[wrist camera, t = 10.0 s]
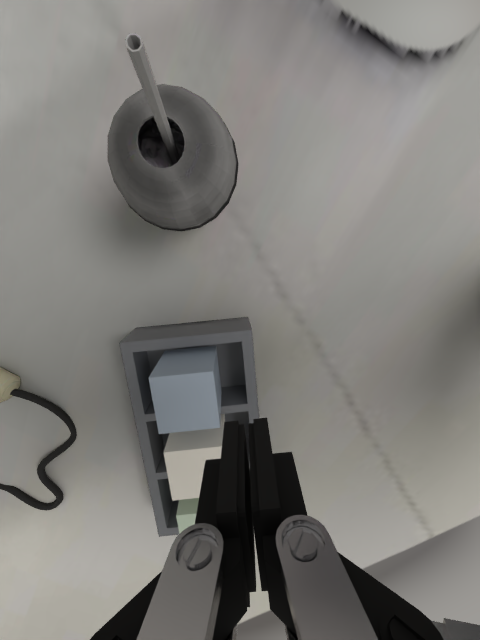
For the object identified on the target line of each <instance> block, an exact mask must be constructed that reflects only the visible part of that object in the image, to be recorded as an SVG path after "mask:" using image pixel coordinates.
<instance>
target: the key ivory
mask: <svg viewBox="0 0 480 640" xmlns="http://www.w3.org/2000/svg"><path fill="white" fill-rule="evenodd" d="M224 422H225V415H224V414H221V419H220V428H213V429H203V430H194V431H184V432H175V433H169V436H168V440H167V443H166V446H165V449H164V452H163V453H164V458H165V464H166V469H167V475H168V480H169V485H170V491H171V496H172V501H174V500H183V499H192V498H199V495H200V489H201V483H202V477H203V471H204V465H205V461H206V460H210V459H221V451H222V440H223V430H224Z"/></svg>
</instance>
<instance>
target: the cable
mask: <svg viewBox="0 0 480 640" xmlns="http://www.w3.org/2000/svg"><path fill="white" fill-rule="evenodd" d="M19 387H20V377H18V376H16V375H14V374H12V373H10V372H9V371H7V370H5V369H3V368H1V367H0V403H1V402H3V401H6V400H8V399H10V398H11V397H12V396H16V397H20V398H23V399H26V400H29V401H32V402H34V403H37V404H39V405H41V406H43V407H45V408H47V409H49V410H50V411H52V412H53V413H55V414H56V415H57V416H58V417H60V418H61V419H62V420H63V421H64V422H65V423H66V425H67V426H68V428H69V429H70V432H71V436H70V437H69V439H68V440H67V441H66V442H65V443H64V444H63V445H61V446H60V447H59V448H57V449H56V450H55V451H53V452H52V453H51V454H49V455H48V456H47V457H45V458H44V459H43V460H42V461H41V462H40V464H39V465H38V468H37V473H38V476H39V479H40V480H41V482H42V483H43V484H44V485H45V486H46V487H47V488H48V489H49V490H50V491H51V492H52V493H53V494H54V495H55V496H56V500H55V501H54V502H52V503H48V504H47V503H43V502H40V501H37V500H35V499H34V498H32V497H30V496H28V495H27V494H25V493H24V492H22V491H21V490H19V489H18V488H16V487H14V486H9V485H3V484H0V489H2V490H5V491H8V492H9V493H11V494H13V495H14V496H16V497H17V498H18V499H20V500H22V501H23V502H25V503H26V504H28V505H30V506H32V507H34V508H37V509H40V510H51V509H54V508H56V507H57V506H58V505H59V504H60V503H61V502H62V500H63V493H62V491H61V490H60V489H59V488H58V487H57V486H56V485H55V484H54V483H53V482H52V481H51V480H50V479H49V478H48V476H47V475H46V473H45V466H46V465H47V464H48V463H49V462H50V461H51V460H53V459H54V458H55V457H57V456H58V455H60V454H61V453H62V452H64V451H65V450H66V449H67V448H68V447H70V446H71V445H72V444H73V442H74V441H75V439H76V436H77V433H76V428H75V425H74V423H73V421H72V420H71V418H70V417H69V416H68V415H67V414H66V413H65V412H64V411H63V410H62V409H60V408H59V407H58V406H56V405H55V404H53V403H51V402H49V401H48V400H46V399H44V398H41V397H39V396H37V395H34V394H31V393H28V392H26V391H22V390H18V389H19Z"/></svg>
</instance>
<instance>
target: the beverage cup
mask: <svg viewBox="0 0 480 640" xmlns="http://www.w3.org/2000/svg"><path fill="white" fill-rule="evenodd" d="M125 42H126V47H127V50H128V52H129V55H130V57H131V60H132V63H133V65H134V68H135V70H136V73H137V75H138V78H139V80H140V83H141V86H142V88H143V89H141V90H140V91H138V92H136V93H135V94H133V95H132V96H130V97H129V98H127V99H126V100H125V102H124V103H123V104H122V106H121V107H120V108H119V110H118V111H117V112H116V114H115V115H114V117H113V121H112V124H111V127H110V130H109V134H108V163H109V166H110V170H111V173H112V176H113V180H114V182H115V184H116V186H117V187H118V189H119V190H120V192H121V194H122V195H123V197H124V198H125V200H126V202H127V203H128V205H129V206H130V208H131V209H133V210H134V211H135V212H136V213H137V214H138V215H139V216H140V217H142V218H143V219H144V220H145V221H147V222H149V223H151V224H153V225H155V226H158V227H160V228H162V229H167V230H175V231H186V230H190V229H195V228H200V227H202V226H203V225H205V224H207V223H208V222H210V221H212V220H213V219H215V218H216V217H217V216H218V215H219V214H220V213H221V211H222V210H223V209H224V208H225V207H226V206H227V204H228V203H229V201H230V198H231V196H232V194H233V191H234V189H235V186H236V182H237V172H238V159H237V154H236V148H235V143H234V141H233V139H232V137H231V135H230V133H229V131H228V129H227V127H226V125H225V123H224V122H223V120H222V118H221V117H220V115H219V114H218V113H217V112H216V111H215V110H214V109H213V108H212V107H211V106H210V105H209V103H208V102H207V101H206V100H205V99H204V98H202V97H200V96H198V95H196V94H194V93H192V92H191V91H189V90H187V89H185V88H183V87H178V86H171V85H164V84H161V85H156V82H155V79H154V75H153V72H152V69H151V66H150V63H149V60H148V57H147V54H146V50H145V47H144V44H143V41H142V38H141V37H140V36H139V35H137V34H136V33H131V34H128V36H127V37H126V39H125Z"/></svg>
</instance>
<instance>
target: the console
mask: <svg viewBox="0 0 480 640" xmlns="http://www.w3.org/2000/svg"><path fill="white" fill-rule="evenodd" d="M119 344H120V349H121V354H122V359H123V364H124V369H125V373H126V378H127V383H128V388H129V393H130V398H131V403H132V408H133V412H134V417H135V422H136V427H137V432H138V437H139V442H140V447H141V451H142V456H143V461H144V466H145V471H146V476H147V481H148V486H149V490H150V495H151V500H152V505H153V510H154V515H155V520H156V525H157V529H158V534H159V537H160V536H169V535H178V534H179V529H178V523H177V518H176V514H177V508H178V503H179V500H174V501H172V496H171V491H170V485H169V480H168V475H167V469H166V464H165V458H164V453H163V452H164V449H165V446H166V443H167V440H168V436H169V433H165V434H159V432H158V427H157V421H156V416H155V410H154V405H153V400H152V394H151V389H150V383H149V376H150V375H151V373H152V371H153V370H154V368H155V366H156V365H157V363H158V361H159V360H160V358H161V356H162V355H163V353H164V351H167V350H177V349H187V348H197V347H207V346H216V348H217V357H218V365H219V374H220V382H221V391H222V394H221V414H224V415H225V422H228V421H238V422H239V424H244V427H245V435H246V443H247V452H248V460H249V468H250V458H249V432H248V423H253V419H259V410H258V398H257V386H256V373H255V361H254V349H253V337H252V329H251V325H250V322H249V318H248V317H243V318H233V319H222V320H212V321H202V322H192V323H181V324H171V325H161V326H151V327H140V328H136V329H134V330H133V331H132V332H131V333H130V334H129V335H128V336H127V337H126V338H124V339H123V340H122V341H121V342H120V343H119Z"/></svg>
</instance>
